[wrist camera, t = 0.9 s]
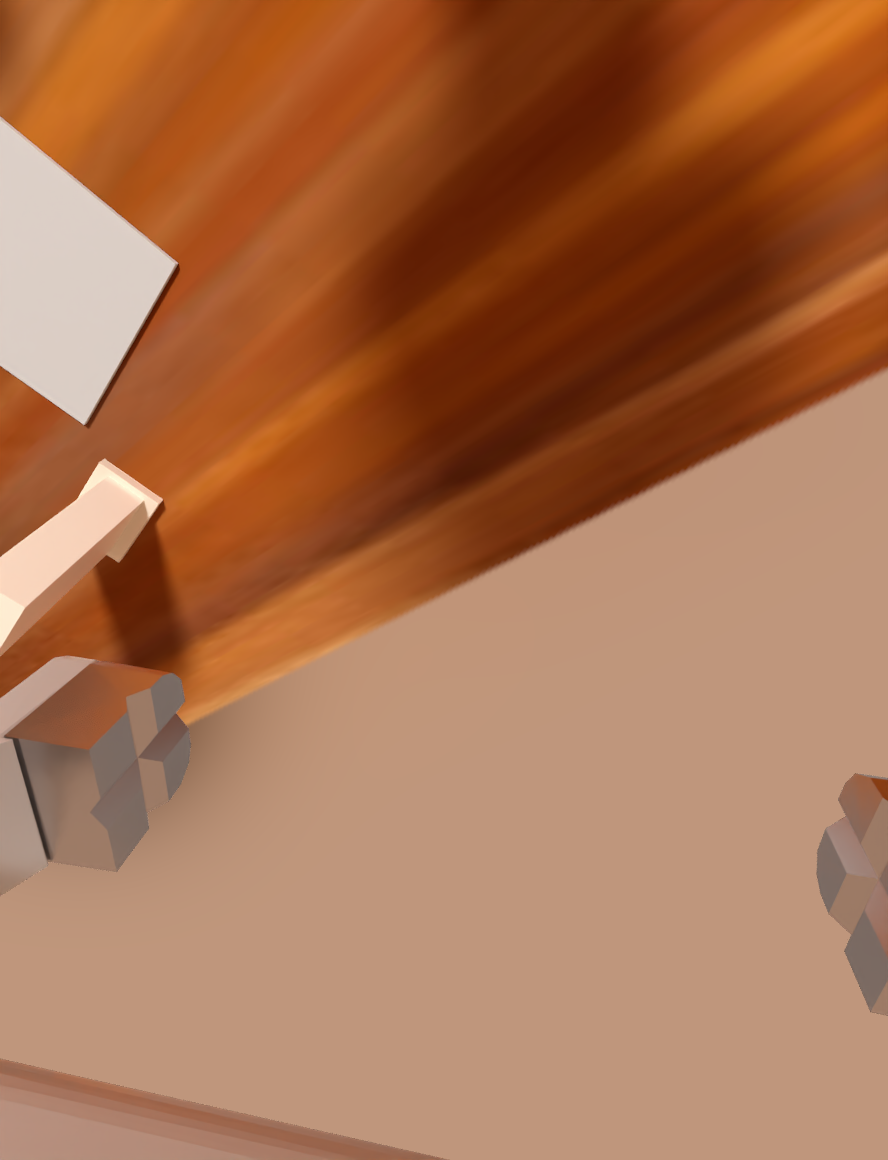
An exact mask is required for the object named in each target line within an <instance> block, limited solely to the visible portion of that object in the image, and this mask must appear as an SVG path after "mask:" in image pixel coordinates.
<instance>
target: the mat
mask: <svg viewBox="0 0 888 1160" xmlns="http://www.w3.org/2000/svg"><path fill="white" fill-rule="evenodd" d="M177 265H178V263H177V262H176V261H175V260H174V259H172V258H171V257H170V256H169V255H168V254H166V253H165V252H164V251H163V250H162V249H160V248H159V247H158V246H157V245H155V244H154V243H153V242H152V241H151V240H149V239H148V238H147V237H146V236H145V235H143V234H142V233H141V232H140V231H139V230H137V229H136V228H135V227H134V226H132V225H131V224H130V223H129V222H128V221H126V220H125V219H124V218H123V217H122V216H120V215H119V214H118V213H117V212H115V211H114V210H113V209H112V208H111V207H109V206H108V205H107V204H106V203H105V202H103V201H102V200H101V199H100V198H98V197H97V196H96V195H95V194H94V193H92V192H91V191H90V190H89V189H88V188H86V187H85V186H84V185H83V184H82V183H80V182H79V181H78V180H77V179H75V178H74V177H73V176H72V175H71V174H69V173H68V172H67V171H66V170H65V169H63V168H62V167H61V166H60V165H58V164H57V163H56V162H55V161H54V160H52V159H51V158H50V157H49V156H48V155H46V154H45V153H44V152H43V151H42V150H40V149H39V148H38V147H37V146H35V145H34V144H33V143H32V142H31V141H29V140H28V139H27V138H26V137H25V136H23V135H22V134H21V133H20V132H18V131H17V130H16V129H15V128H14V127H12V126H11V125H10V124H9V123H8V122H6V121H5V120H4V119H3V118H1V117H0V366H1V367H3V368H4V369H6V370H7V371H8V372H10V373H11V374H13V375H14V376H16V377H17V378H18V379H20V380H21V381H23V382H24V383H25V384H27V385H28V386H30V387H31V388H33V389H34V390H35V391H37V392H38V393H40V394H41V395H42V396H44V397H45V398H47V399H48V400H50V401H51V402H52V403H54V404H55V405H57V406H58V407H59V408H61V409H62V410H64V411H65V412H66V413H68V414H69V415H71V416H72V417H74V418H75V419H76V420H78V421H79V422H81V423H82V424H83V425H85V424H87V423H88V421H89V419H90V417H91V416H92V414H93V412H94V410H95V409H96V407H97V405H98V403H99V402H100V400H101V398H102V396H103V395H104V393H105V391H106V389H107V388H108V386H109V384H110V382H111V381H112V379H113V377H114V375H115V374H116V372H117V370H118V368H119V367H120V365H121V363H122V361H123V360H124V358H125V356H126V354H127V353H128V351H129V349H130V347H131V346H132V344H133V342H134V340H135V339H136V337H137V335H138V333H139V332H140V330H141V328H142V326H143V325H144V323H145V321H146V319H147V318H148V316H149V314H150V312H151V311H152V309H153V307H154V305H155V304H156V302H157V300H158V298H159V297H160V295H161V293H162V291H163V290H164V288H165V286H166V284H167V283H168V281H169V279H170V277H171V276H172V274H173V272H174V270H175V269H176V267H177Z"/></svg>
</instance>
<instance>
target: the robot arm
mask: <svg viewBox="0 0 888 1160" xmlns="http://www.w3.org/2000/svg"><path fill="white" fill-rule="evenodd" d="M184 702H185V698H184V692H183V687H182V681H181V679H180V678H179V677H177V676H176V675H175V674H173V673H171V672H165V671H159V670H154V669H148V668H142V667H136V666H130V665H124V664H118V663H112V662H107V661H97V660H93V659H86V658H80V657H73V656H62V657H56V658H53V659H52V660H51V661H49V662H48V663H47V664H45V665H44V666H43V667H41V668H40V669H39V670H37V671H36V672H35V673H33V674H32V675H31V676H29V677H28V678H27V679H26V680H24V681H23V682H22V683H20V684H19V685H18V686H16V687H15V688H14V689H12V690H11V691H10V692H8V693H7V694H6V695H4V696H3V697H2V698H0V896H1V895H3V894H5V893H6V892H8V891H9V890H11V889H12V888H14V887H16V886H17V885H19V884H20V883H22V882H23V881H25V880H27V879H28V878H29V877H31V876H33V875H34V874H36V873H38V872H39V871H41V870H42V869H44V868H45V867H47V866H48V862H54V863H61V864H67V865H75V866H80V867H87V868H94V869H100V870H106V871H113V872H117V871H118V870H119V868H120V867H121V866H122V864H123V863H124V861H125V860H126V859H127V857H128V856H129V855H130V853H131V852H132V851H133V849H134V848H135V846H136V845H137V844H138V843H139V841H140V840H141V838H142V837H143V836H144V834H145V833H146V832H147V830H148V829H149V823H148V814H147V813H148V812H150V811H152V810H153V809H155V808H157V807H159V806H161V805H163V804H165V803H167V802H169V800H170V799H171V798H172V796H173V795H174V793H175V792H176V790H177V789H178V788H179V786H180V785H181V782H182V780H183V777H184V775H185V772H186V769H187V766H188V764H189V757H190V748H191V742H190V733H189V728H188V727H187V726H186V725H185V724H184V722H183V721H182V720H181V719H180V718H179V716H178V715H177V714H176V712H177V711H178V710H179V708H180V707H181V706H182V704H183V703H184ZM838 801H839V803H840V805H841V807H842V809H843V811H844V813H845V815H846V816H845V817H844V818H842V819H840V820H839V821H837V822H835V823H834V824H832V825H831V826H829V827H827V828H826V829H825V832H824V834H823V837H822V840H821V842H820V845H819V848H818V852H817V878H818V883H819V889H820V893H821V896H822V899H823V901H824V904H825V906H826V908H827V911H828V913H829V915H831V916H832V917H833V918H834V919H835V920H836V921H837V922H838V923H839V924H840V925H841V926H842V927H843V928H845V929H846V930H847V931H848V932H849V933H850V934H851V937H850V939H849V941H848V943H847V946H846V948H845V951H844V952H845V954H846V956H847V958H848V961H849V963H850V965H851V968H852V970H853V972H854V975H855V977H856V979H857V982H858V984H859V987H860V989H861V991H862V993H863V996H864V998H865V1000H866V1003H867V1005H868V1007H869V1010H870V1012H872V1013H877V1014H882V1015H887V1016H888V778H885V777H878V776H871V775H864V774H854V775H853V776H852V777H851V778H850V779H849V780H848V781H847V782H846V783H845V785H844V787H843V790H842V792H841V794H840V796H839V798H838ZM0 1160H448V1159H443V1158H439V1157H435V1156H430V1155H426V1154H421V1153H417V1152H412V1151H408V1150H403V1149H399V1148H395V1147H390V1146H386V1145H381V1144H377V1143H373V1142H368V1141H364V1140H359V1139H355V1138H350V1137H346V1136H341V1135H337V1134H333V1133H328V1132H323V1131H319V1130H315V1129H310V1128H306V1127H301V1126H297V1125H293V1124H288V1123H284V1122H279V1121H275V1120H270V1119H265V1118H261V1117H257V1116H253V1115H248V1114H243V1113H239V1112H235V1111H230V1110H225V1109H221V1108H217V1107H213V1106H208V1105H204V1104H199V1103H195V1102H190V1101H186V1100H181V1099H177V1098H173V1097H168V1096H164V1095H159V1094H155V1093H150V1092H146V1091H142V1090H137V1089H133V1088H128V1087H124V1086H120V1085H115V1084H110V1083H106V1082H102V1081H97V1080H92V1079H88V1078H84V1077H80V1076H75V1075H71V1074H66V1073H62V1072H57V1071H53V1070H48V1069H44V1068H39V1067H35V1066H31V1065H26V1064H22V1063H18V1062H13V1061H9V1060H4V1059H0Z"/></svg>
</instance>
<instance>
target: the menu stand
mask: <svg viewBox="0 0 888 1160" xmlns="http://www.w3.org/2000/svg"><path fill="white" fill-rule="evenodd" d="M162 501H163V499H162V498H160V497H159V496H157V495H156V494H154V493H153V492H151V491H150V490H149V489H147V488H146V487H144V486H143V485H141V484H140V483H139V482H137V481H136V480H134V479H133V478H131V477H130V476H129V475H127V474H126V473H124V472H123V471H121V470H120V469H119V468H117V467H116V466H114V465H113V464H111V463H110V462H108V461H107V460H106V459H104V460H102V461H101V462H99V464H98V465H97V467H96V469H95V470H94V472H93V474H92V475H91V477H90V479H89V480H88V482H87V484H86V485H85V487H84V489H83V490H82V492H81V493H80V495H79V497H78V498H77V500H76V501H74V502H73V503H72V504H70V505H69V506H68V507H66V508H65V509H64V510H62V511H61V512H60V513H58V514H57V515H56V516H54V517H53V518H52V519H50V520H49V521H48V522H46V523H45V524H44V525H42V526H41V527H40V528H38V529H37V530H36V531H34V532H33V533H32V534H30V535H29V536H28V537H26V538H25V539H24V540H22V541H21V542H20V543H18V544H17V545H16V546H14V547H13V548H12V549H10V550H9V551H8V552H6V553H5V554H4V555H2V556H1V557H0V656H1V655H2V654H3V653H4V652H5V651H6V650H8V649H9V648H10V647H11V646H12V645H13V644H14V643H15V642H16V641H17V640H18V639H19V638H20V637H21V636H22V635H23V634H24V633H25V632H26V631H27V630H28V629H29V628H31V627H32V626H33V625H34V624H35V623H36V622H37V621H38V620H39V619H40V618H41V617H42V616H43V615H44V614H45V613H46V612H47V611H48V610H49V609H50V608H51V607H52V606H54V605H55V604H56V603H57V602H58V601H59V600H60V599H61V598H62V597H63V596H64V595H65V594H66V593H67V592H68V591H69V590H70V589H71V588H72V587H73V586H74V585H76V584H77V583H78V582H79V581H80V580H81V579H82V578H83V577H84V576H85V575H86V574H87V573H88V572H89V571H90V570H91V569H92V568H93V567H94V566H95V565H96V564H97V563H99V562H100V561H101V560H102V559H103V558H104V557H105V556H106V555H107V556H109V557H111V558H112V559H114V560H115V561H117V562H118V563H119V562H120V561H121V560H122V559H123V558H124V556H125V555H126V553H127V552H128V550H129V549H130V548H131V546H132V545H133V543H134V542H135V540H136V539H137V537H138V536H139V534H140V533H141V531H142V530H143V529H144V527H145V526H146V524H147V523H148V521H149V520H150V518H151V517H152V515H153V514H154V512H155V511H156V510H157V508H158V507H159V505H160V504H161V502H162Z"/></svg>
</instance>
